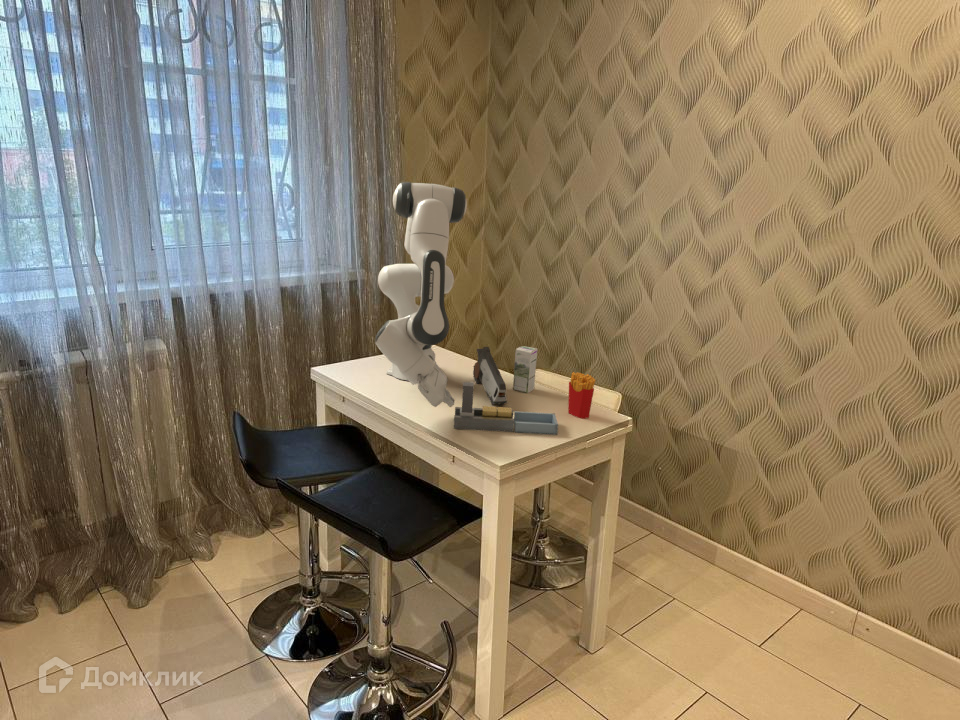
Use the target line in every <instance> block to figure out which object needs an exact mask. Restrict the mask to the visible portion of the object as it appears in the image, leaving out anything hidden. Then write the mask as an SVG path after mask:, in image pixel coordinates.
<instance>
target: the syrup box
mask: <svg viewBox="0 0 960 720" xmlns="http://www.w3.org/2000/svg"><path fill="white" fill-rule="evenodd" d="M537 358H538V348H536V347H529V346H525V345H521V346H519V347H517V348H515V356H514V366H513V367H514V369H513V385H512V390H513V391H517V392H520V393H526V394H528V393H529V394H530V393H531V392H532V391H533V390H534V389H535V382H536V381H535V380H536V371H537V369H536V368H537Z"/></svg>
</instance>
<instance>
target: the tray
mask: <svg viewBox="0 0 960 720" xmlns="http://www.w3.org/2000/svg"><path fill="white" fill-rule="evenodd" d="M513 419H514V432H515V433H517V434H518V433H519V434H536V435H539V434H540V435H553V436H554V435H555V436H557V435H558V432H559V431H558V430H559V424H558V420H557V416H556V413H552V412H551V413H550V412H534V411H532V412H531V411H517V410H516V411H514V410H513Z"/></svg>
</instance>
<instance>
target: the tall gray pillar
mask: <svg viewBox="0 0 960 720" xmlns="http://www.w3.org/2000/svg"><path fill="white" fill-rule="evenodd" d="M474 382H475V381H474ZM474 382H472V381H471V382H470V381H463V383H462V397H461V399H462V400H461V407H462V408H460V416H474V408H475V407H473V404H474V403H473V402H474V388H475V387H474V386H475V383H474Z"/></svg>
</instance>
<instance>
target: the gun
mask: <svg viewBox="0 0 960 720" xmlns="http://www.w3.org/2000/svg"><path fill="white" fill-rule="evenodd" d="M476 353H477V361H476V362H475V363H474V364H473V371H472V375H473V379H474V382H475V384H476V385H477V384H478V385H482V386H483V388H484V391H485V393H486V394H487V398H488V399H489V403H490V404H491V405H504V404H507V403H508V399H507V398H508V397H507V386H506V383H505V381H504V379H503V376H502V374H501V372H500V369H499V368H498V365H497V363H496V361H495V359H494V358H493V354H492V353H491V349H490V347H489V346H483V348H477V349H476Z"/></svg>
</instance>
